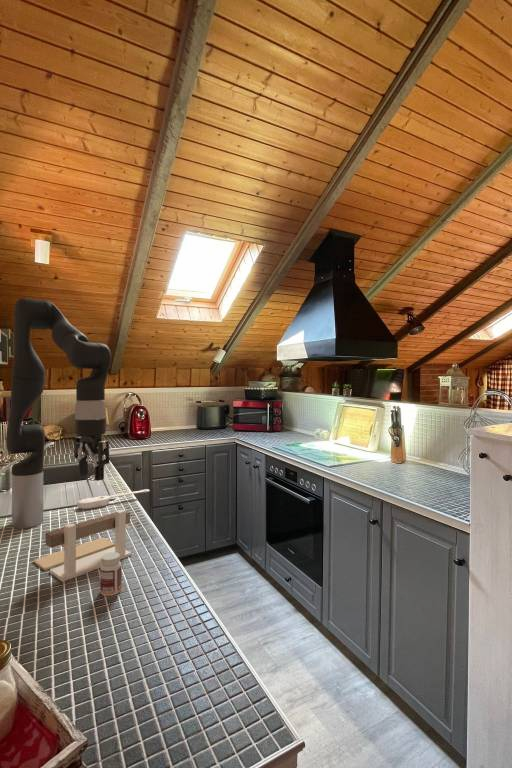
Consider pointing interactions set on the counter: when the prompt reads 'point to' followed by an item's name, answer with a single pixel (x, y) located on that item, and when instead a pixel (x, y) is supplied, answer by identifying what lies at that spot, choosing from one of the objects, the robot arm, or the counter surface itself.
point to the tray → (81, 551)
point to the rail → (84, 529)
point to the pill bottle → (110, 574)
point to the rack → (92, 561)
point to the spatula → (101, 500)
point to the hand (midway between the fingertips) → (91, 477)
